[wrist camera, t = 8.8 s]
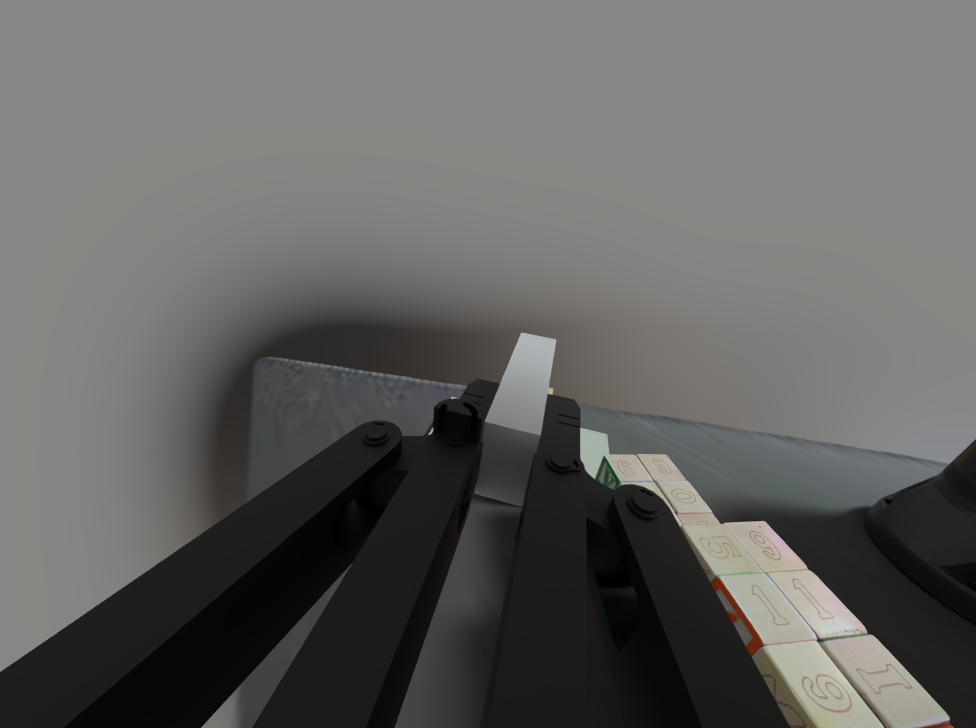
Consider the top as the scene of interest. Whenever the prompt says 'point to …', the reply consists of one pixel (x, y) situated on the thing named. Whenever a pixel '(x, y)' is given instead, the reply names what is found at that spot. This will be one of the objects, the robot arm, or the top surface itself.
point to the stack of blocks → (786, 615)
